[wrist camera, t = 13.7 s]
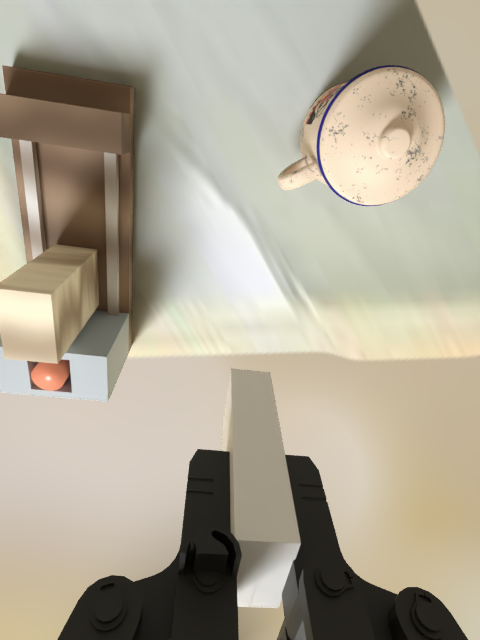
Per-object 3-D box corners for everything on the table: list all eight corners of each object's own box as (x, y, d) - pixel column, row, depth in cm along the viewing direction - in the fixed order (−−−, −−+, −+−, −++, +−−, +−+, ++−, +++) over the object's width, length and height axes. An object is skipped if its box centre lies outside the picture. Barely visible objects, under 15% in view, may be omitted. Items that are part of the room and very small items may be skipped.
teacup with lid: (379, 57, 32) (453, 24, 21) (407, 161, 36) (481, 176, 25) (251, 128, 34) (263, 130, 24) (291, 219, 38) (315, 255, 27)
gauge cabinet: (36, 297, 41) (-17, 345, 32) (132, 307, 42) (106, 356, 33) (41, 336, 43) (-7, 391, 34) (131, 345, 44) (107, 401, 35)
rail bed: (11, 67, 31) (-20, 59, 27) (134, 87, 32) (121, 82, 28) (42, 336, 43) (24, 358, 39) (131, 345, 44) (122, 367, 40)
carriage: (54, 244, 36) (-8, 288, 26) (97, 249, 37) (50, 294, 27) (59, 300, 39) (4, 358, 29) (99, 304, 39) (57, 363, 30)
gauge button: (48, 339, 36) (29, 363, 32) (79, 342, 36) (63, 366, 32) (51, 363, 37) (32, 389, 34) (80, 366, 37) (65, 392, 34)
